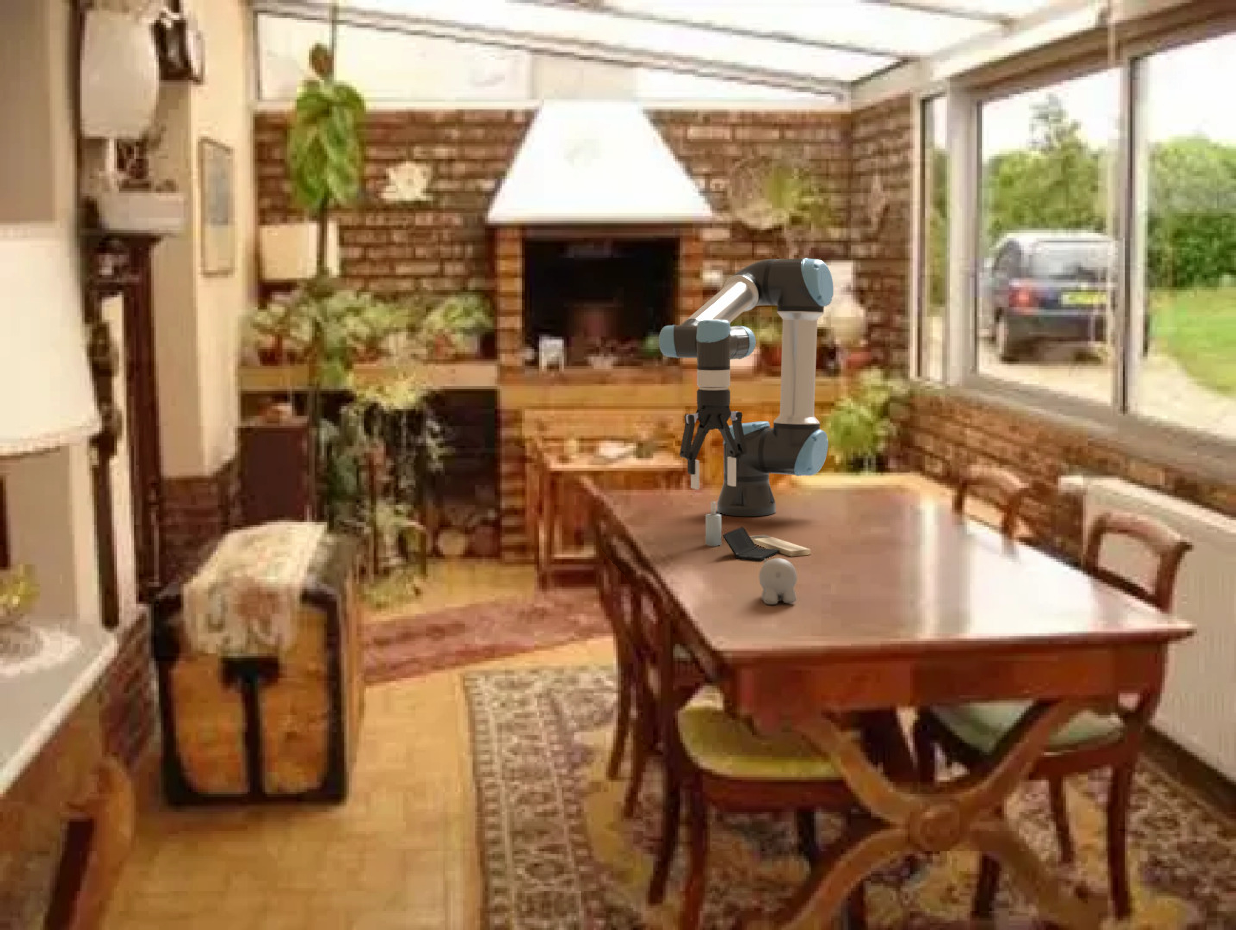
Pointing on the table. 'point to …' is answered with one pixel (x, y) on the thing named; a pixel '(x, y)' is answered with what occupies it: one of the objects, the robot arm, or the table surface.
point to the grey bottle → (713, 527)
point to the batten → (780, 545)
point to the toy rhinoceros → (778, 581)
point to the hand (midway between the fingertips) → (713, 486)
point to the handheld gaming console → (746, 546)
